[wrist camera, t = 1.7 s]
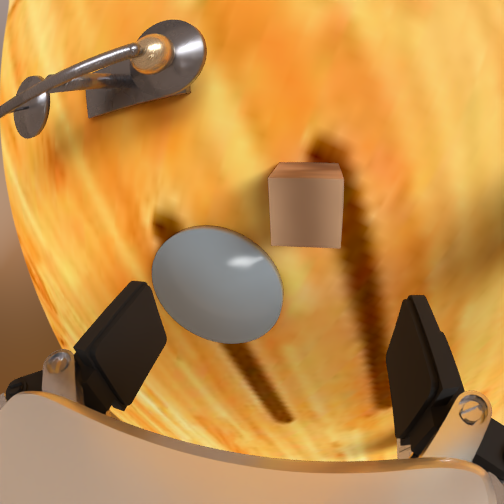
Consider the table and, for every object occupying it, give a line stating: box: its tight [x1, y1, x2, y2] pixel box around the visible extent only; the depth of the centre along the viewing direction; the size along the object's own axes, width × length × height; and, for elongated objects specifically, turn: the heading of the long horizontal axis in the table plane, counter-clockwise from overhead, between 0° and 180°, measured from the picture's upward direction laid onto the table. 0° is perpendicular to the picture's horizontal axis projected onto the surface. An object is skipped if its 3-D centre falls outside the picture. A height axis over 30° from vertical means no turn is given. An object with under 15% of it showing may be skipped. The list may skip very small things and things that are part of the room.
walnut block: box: [268, 162, 344, 248], centre depth 22 cm, size 5×5×6 cm
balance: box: [0, 20, 207, 138], centre depth 17 cm, size 20×6×13 cm, turn 93°
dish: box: [152, 225, 284, 344], centre depth 31 cm, size 15×15×1 cm
